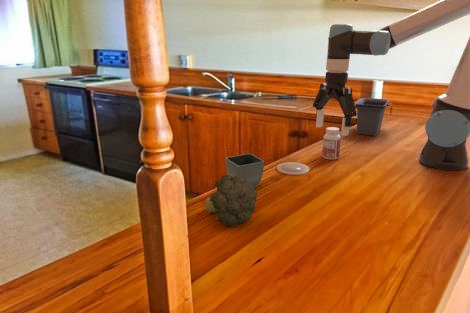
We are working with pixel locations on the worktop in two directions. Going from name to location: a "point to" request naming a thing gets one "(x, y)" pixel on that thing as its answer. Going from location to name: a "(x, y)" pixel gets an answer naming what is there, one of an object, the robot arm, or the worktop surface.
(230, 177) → the vegetable
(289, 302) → the worktop surface
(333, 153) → the pill bottle
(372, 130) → the storage bin
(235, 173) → the flower pot
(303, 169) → the coaster
